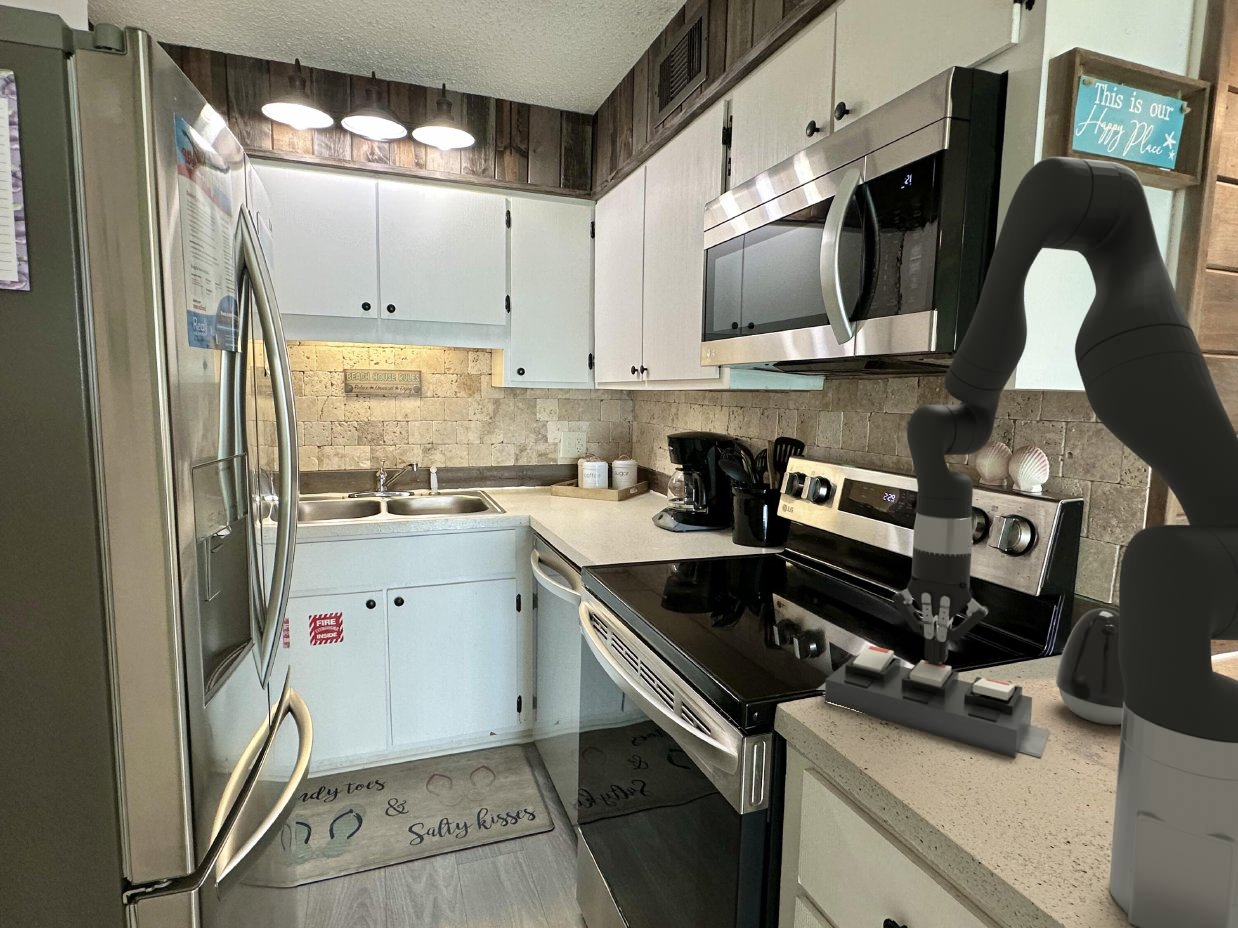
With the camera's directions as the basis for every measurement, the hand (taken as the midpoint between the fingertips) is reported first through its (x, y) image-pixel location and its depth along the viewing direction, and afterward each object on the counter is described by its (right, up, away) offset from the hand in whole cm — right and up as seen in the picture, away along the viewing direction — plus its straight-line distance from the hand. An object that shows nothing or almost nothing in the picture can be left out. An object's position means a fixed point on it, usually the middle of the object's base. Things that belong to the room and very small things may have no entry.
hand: (935, 663), depth 99 cm
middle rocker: (-2, -1, -2) cm, 3 cm away
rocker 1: (-8, 0, +3) cm, 8 cm away
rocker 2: (+5, -1, -7) cm, 8 cm away
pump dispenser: (+20, -6, -4) cm, 22 cm away
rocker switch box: (-3, -6, -3) cm, 7 cm away
